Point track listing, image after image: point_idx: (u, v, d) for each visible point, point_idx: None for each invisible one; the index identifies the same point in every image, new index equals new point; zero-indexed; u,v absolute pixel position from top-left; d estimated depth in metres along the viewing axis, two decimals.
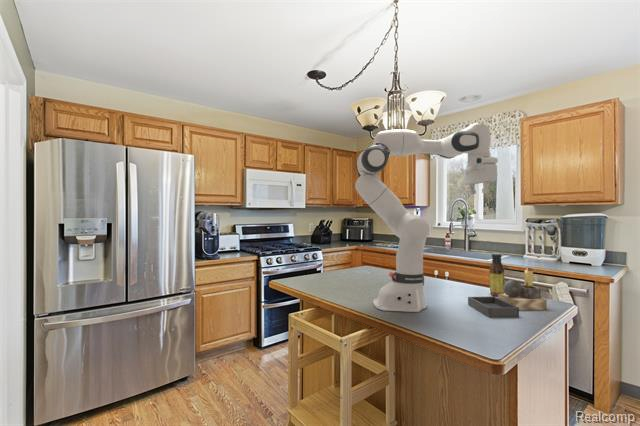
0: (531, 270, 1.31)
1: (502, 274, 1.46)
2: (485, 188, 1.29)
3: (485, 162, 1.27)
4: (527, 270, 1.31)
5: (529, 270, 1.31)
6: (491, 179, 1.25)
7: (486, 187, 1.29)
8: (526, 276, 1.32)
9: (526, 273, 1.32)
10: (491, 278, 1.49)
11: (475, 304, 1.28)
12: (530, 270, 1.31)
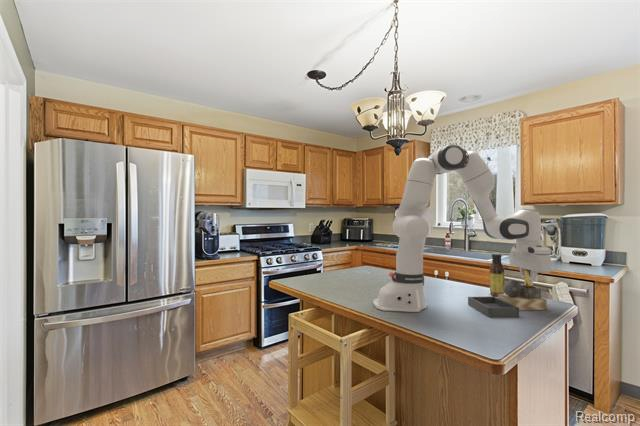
0: None
1: (502, 274, 1.46)
2: (532, 277, 1.29)
3: (538, 253, 1.24)
4: (527, 270, 1.31)
5: (529, 270, 1.31)
6: (545, 272, 1.22)
7: (534, 276, 1.29)
8: (526, 276, 1.32)
9: (526, 273, 1.32)
10: (491, 278, 1.49)
11: (475, 304, 1.28)
12: (530, 270, 1.31)
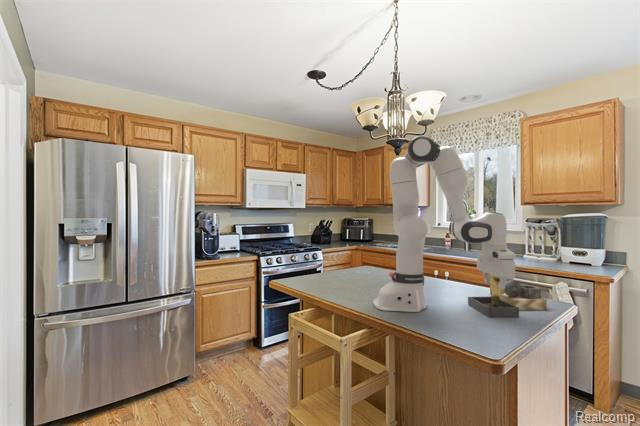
0: None
1: None
2: (502, 284, 1.21)
3: (502, 258, 1.18)
4: (496, 280, 1.25)
5: (498, 280, 1.25)
6: (509, 278, 1.17)
7: (503, 283, 1.21)
8: (494, 286, 1.26)
9: (495, 283, 1.25)
10: (491, 278, 1.49)
11: (475, 304, 1.28)
12: (499, 281, 1.25)
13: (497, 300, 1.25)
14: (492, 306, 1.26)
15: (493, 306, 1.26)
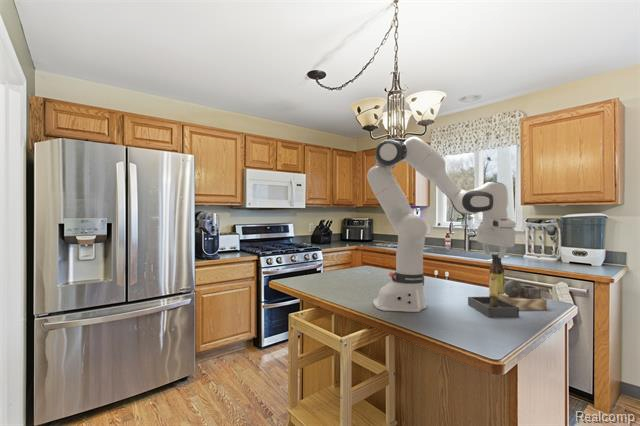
0: (495, 280, 1.26)
1: (502, 274, 1.46)
2: (501, 253, 1.21)
3: (502, 227, 1.18)
4: (491, 280, 1.26)
5: (493, 280, 1.26)
6: (508, 246, 1.17)
7: (502, 252, 1.21)
8: (491, 286, 1.26)
9: (490, 283, 1.27)
10: None
11: (475, 304, 1.28)
12: (494, 280, 1.26)
13: (495, 299, 1.25)
14: (492, 306, 1.26)
15: (493, 306, 1.26)
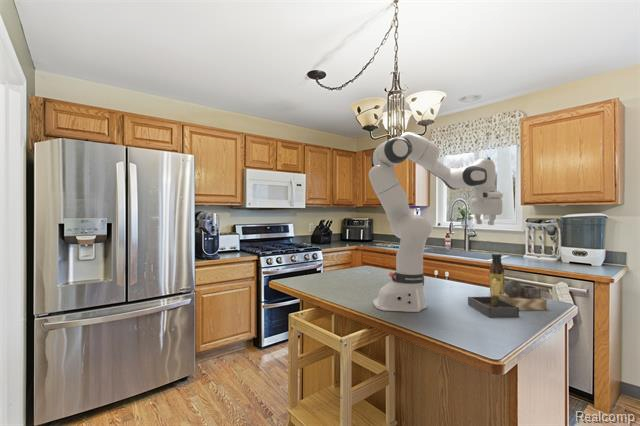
0: (499, 280, 1.25)
1: (502, 274, 1.46)
2: (491, 221, 1.38)
3: (491, 197, 1.35)
4: (495, 280, 1.26)
5: (497, 280, 1.25)
6: (497, 213, 1.34)
7: (492, 220, 1.38)
8: (493, 286, 1.26)
9: (493, 283, 1.26)
10: (491, 278, 1.49)
11: (475, 304, 1.28)
12: (498, 280, 1.25)
13: (497, 300, 1.25)
14: (492, 306, 1.26)
15: (493, 306, 1.26)
